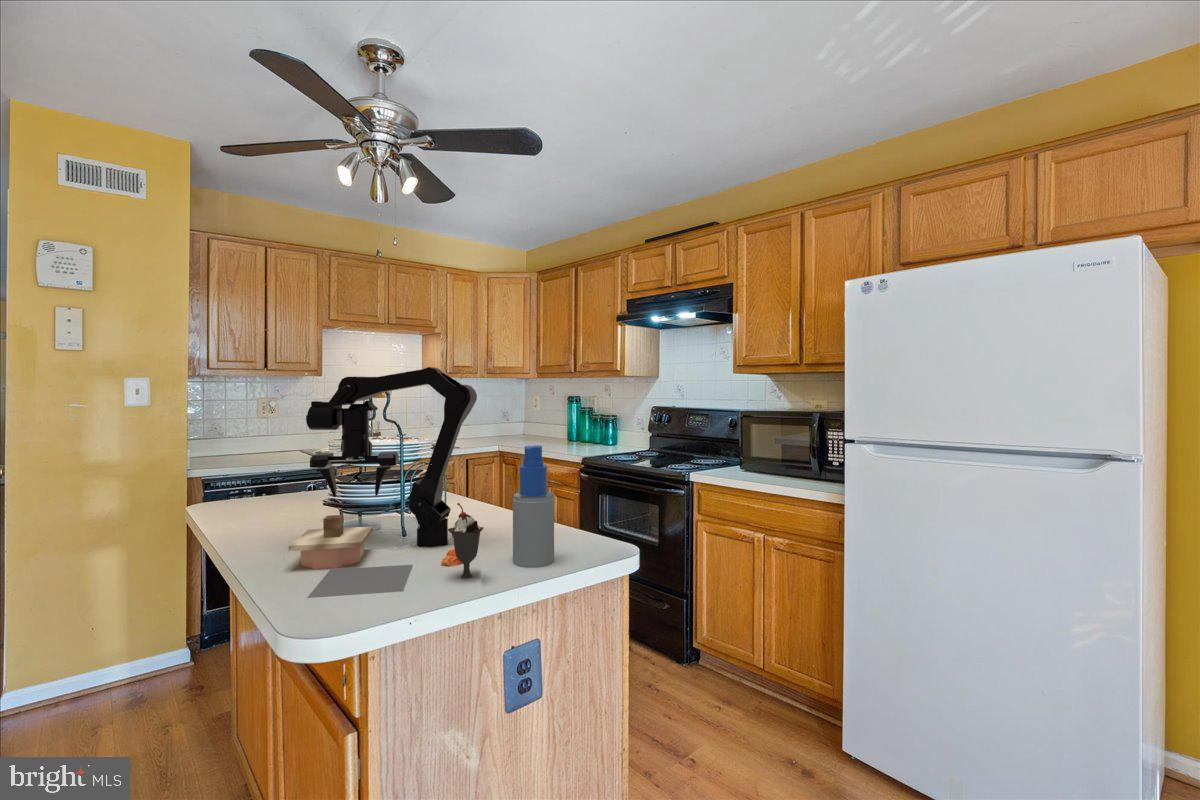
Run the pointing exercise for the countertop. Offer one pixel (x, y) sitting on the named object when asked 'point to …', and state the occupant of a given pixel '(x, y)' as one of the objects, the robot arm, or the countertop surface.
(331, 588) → the mat
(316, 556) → the bowl
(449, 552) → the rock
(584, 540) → the countertop surface
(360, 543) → the lid
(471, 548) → the sundae
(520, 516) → the spray bottle
